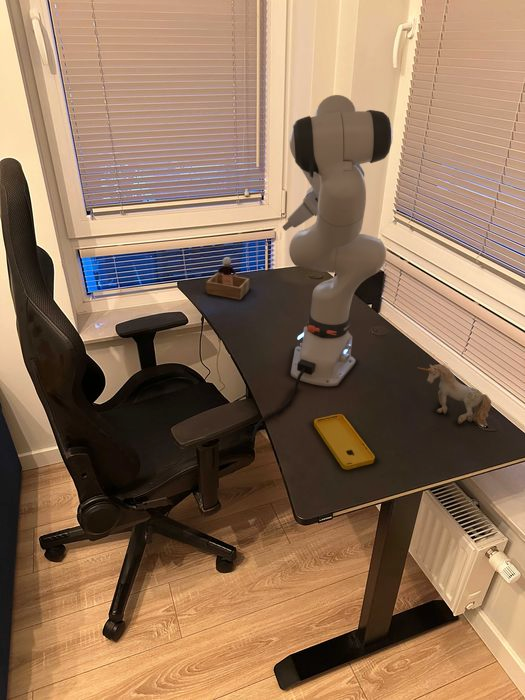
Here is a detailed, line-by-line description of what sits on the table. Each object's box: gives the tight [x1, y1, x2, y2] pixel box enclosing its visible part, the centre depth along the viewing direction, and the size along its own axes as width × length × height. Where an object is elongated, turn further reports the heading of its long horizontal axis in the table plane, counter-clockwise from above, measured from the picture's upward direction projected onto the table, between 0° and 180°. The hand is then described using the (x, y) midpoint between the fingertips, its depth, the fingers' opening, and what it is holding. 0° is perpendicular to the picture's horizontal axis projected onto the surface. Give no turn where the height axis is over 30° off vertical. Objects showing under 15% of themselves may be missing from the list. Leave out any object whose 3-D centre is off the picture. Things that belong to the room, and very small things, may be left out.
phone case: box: [313, 413, 376, 471], centre depth 120 cm, size 8×17×1 cm, turn 20°
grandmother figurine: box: [216, 256, 238, 286], centre depth 187 cm, size 8×4×13 cm, turn 93°
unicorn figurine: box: [417, 363, 492, 427], centre depth 128 cm, size 7×20×13 cm, turn 63°
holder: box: [205, 272, 251, 300], centre depth 189 cm, size 10×14×5 cm
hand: (288, 224), depth 168 cm, fingers open, 8 cm apart
